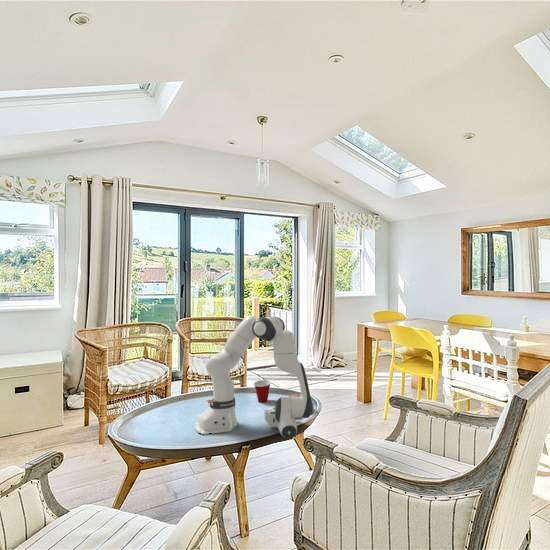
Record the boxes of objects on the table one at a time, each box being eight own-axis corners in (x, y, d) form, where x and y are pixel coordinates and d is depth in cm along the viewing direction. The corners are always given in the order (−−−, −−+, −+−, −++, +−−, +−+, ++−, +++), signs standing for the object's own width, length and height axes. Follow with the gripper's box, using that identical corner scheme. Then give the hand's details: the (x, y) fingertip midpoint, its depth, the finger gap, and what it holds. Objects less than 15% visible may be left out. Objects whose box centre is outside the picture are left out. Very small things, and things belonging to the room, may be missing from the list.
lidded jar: (307, 406, 221) (307, 391, 221) (307, 413, 211) (307, 397, 210) (289, 406, 222) (289, 390, 222) (288, 413, 212) (288, 397, 211)
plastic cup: (250, 401, 233) (250, 381, 232) (264, 397, 239) (264, 378, 239) (260, 405, 224) (260, 386, 224) (274, 401, 231) (274, 382, 230)
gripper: (305, 411, 188) (300, 402, 202) (265, 413, 186) (263, 403, 200) (305, 424, 188) (301, 413, 202) (265, 426, 186) (263, 415, 200)
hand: (282, 408), depth 201 cm, fingers open, 8 cm apart
